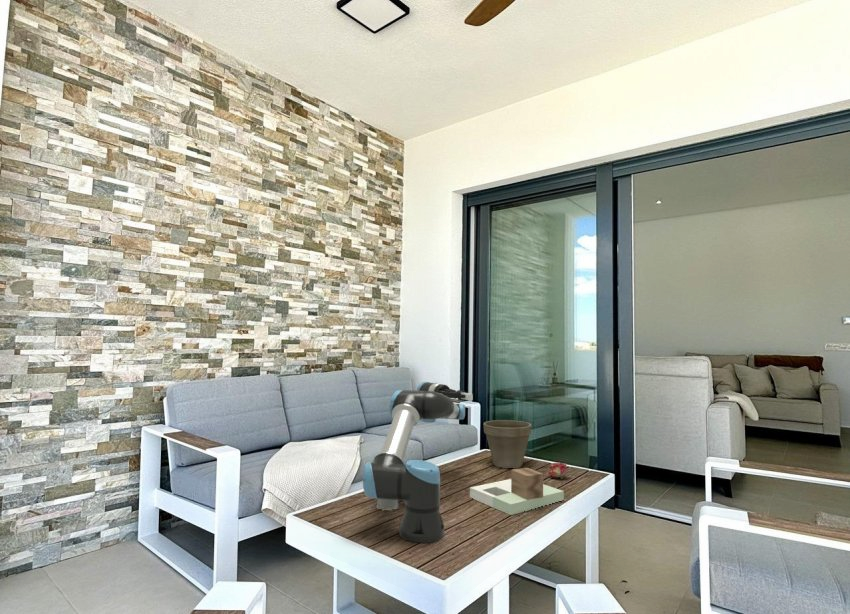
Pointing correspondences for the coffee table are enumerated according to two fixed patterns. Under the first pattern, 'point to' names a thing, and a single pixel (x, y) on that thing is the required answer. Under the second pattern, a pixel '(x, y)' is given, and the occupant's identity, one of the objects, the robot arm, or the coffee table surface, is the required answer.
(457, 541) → the coffee table surface
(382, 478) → the robot arm
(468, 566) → the coffee table surface
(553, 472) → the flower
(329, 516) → the coffee table surface
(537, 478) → the walnut block
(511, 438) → the plant pot
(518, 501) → the box
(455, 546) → the coffee table surface
